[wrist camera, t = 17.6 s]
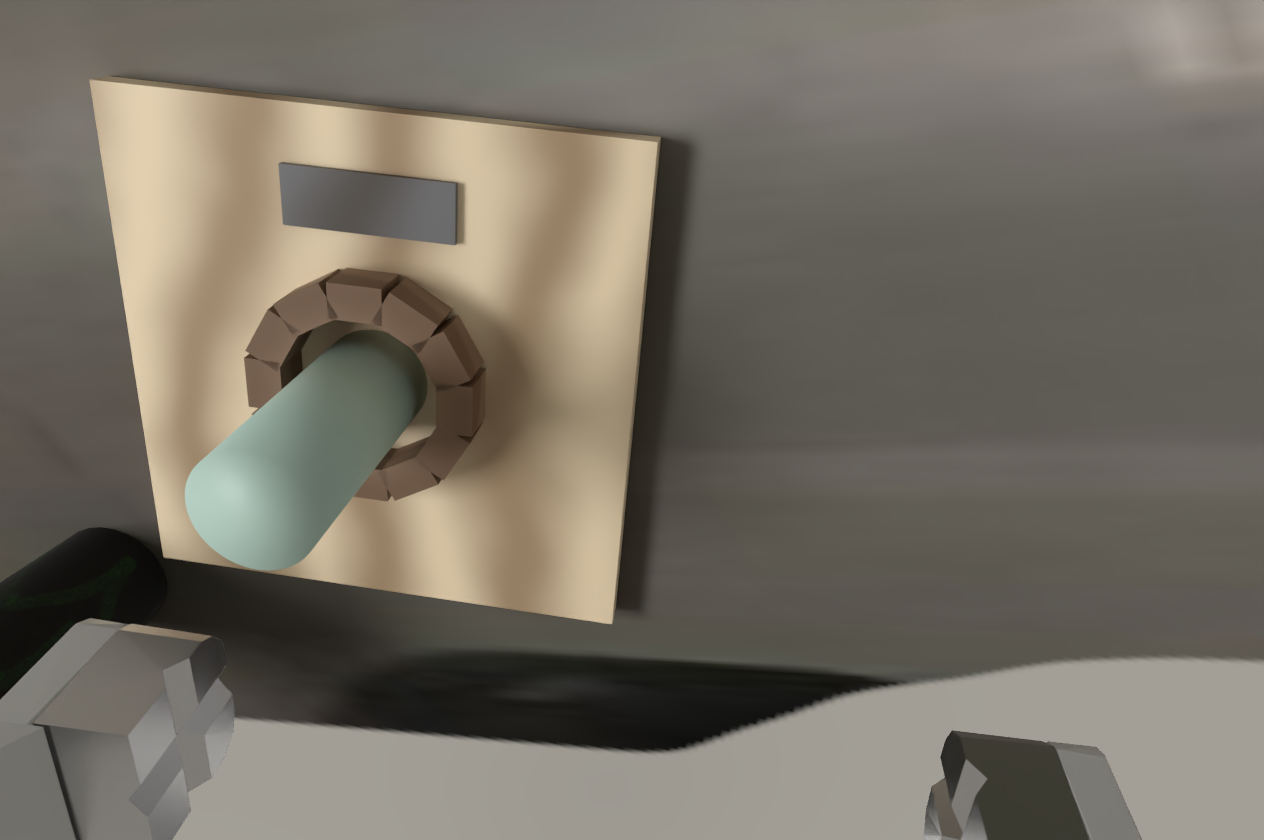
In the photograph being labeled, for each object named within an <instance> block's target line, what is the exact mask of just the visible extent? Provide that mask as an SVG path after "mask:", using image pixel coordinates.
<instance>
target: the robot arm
mask: <svg viewBox="0 0 1264 840" xmlns="http://www.w3.org/2000/svg"><path fill="white" fill-rule="evenodd" d="M226 665H227V661H226V656H225V652H224V647H223V642H222V641H221V640H219V639H217V638H215V637H213V636H209V635H202V634H196V633H189V632H183V631H176V630H170V629H163V628H157V627H150V626H144V625H137V624H130V625H129V624H123V623H117V622H111V621H105V620H99V619H93V618H89V619H86V620H84V621H81V622H79V623H76V624H75V625H74V626H73V627H72V628H71V629H70V630H69V631H68V632H67V633H66V634H65V635H64V636H63V637H62V638H61V639H60V640H59V641H58V642H57V643H56V644H55V645H54V646H53V647H52V648H51V649H50V650H49V651H48V652H47V653H46V654H45V655H44V656H43V657H42V658H41V659H40V660H39V661H38V662H37V663H36V664H35V665H34V666H33V667H32V668H31V669H30V670H29V671H28V672H27V673H26V674H25V675H24V676H23V677H22V678H21V679H20V680H19V681H18V682H17V683H16V684H15V685H14V686H13V687H12V688H11V689H10V690H9V691H8V692H7V693H6V694H5V695H4V696H3V697H2V698H1V699H0V840H172V839H173V838H174V836H175V835H176V833H177V831H178V830H179V828H180V827H181V825H182V823H183V822H184V821H185V819H186V818H187V816H188V814H189V813H190V811H191V807H190V802H189V796H188V792H189V791H191V790H193V789H194V788H196V787H198V786H199V785H201V784H202V783H204V782H206V781H207V780H209V779H211V778H212V777H213V775H214V773H215V772H216V770H217V769H218V767H219V765H220V764H221V762H222V760H223V759H224V757H225V754H226V751H227V748H228V745H229V742H230V739H231V736H232V733H233V727H234V714H235V709H234V703H233V696H232V693H231V692H230V691H229V690H228V689H227V688H226V687H225V686H224V685H223V683H222V682H221V681H220V680H219V679H218V676H219V675H220V673H221V672H222V671H223V669H224V668H225V666H226ZM941 761H942V766H943V770H944V774H945V778H944V779H942V780H941V781H939V782H938V783H936V784H935V785H934V786H932V788H931V792H930V796H929V800H928V804H927V808H926V817H925V830H924V840H1142V839H1141V836H1140V834H1139V832H1138V830H1137V827H1136V825H1135V823H1134V821H1133V818H1132V816H1131V814H1130V811H1129V809H1128V807H1127V805H1126V803H1125V800H1124V798H1123V796H1122V793H1121V791H1120V789H1119V787H1118V784H1117V782H1116V780H1115V778H1114V776H1113V773H1112V771H1111V768H1110V766H1109V764H1108V762H1107V759H1106V757H1105V755H1104V754H1103V753H1102V752H1101V751H1100V750H1099V749H1098V748H1097V747H1092V746H1083V745H1074V744H1064V743H1056V742H1047V743H1045V742H1042V741H1035V740H1027V739H1018V738H1010V737H1002V736H993V735H985V734H976V733H968V732H960V731H951V733H950V734H949V736H948V737H947V739H946V741H945V744H944V747H943V750H942V754H941Z"/></svg>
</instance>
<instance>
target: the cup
mask: <svg viewBox="0 0 1264 840" xmlns="http://www.w3.org/2000/svg"><path fill="white" fill-rule="evenodd" d="M165 596H166V579H165V576H164V572H163V570H162V568H161V566H160V565H159V563H158V561H157V560H156V558H155V557H154V556H153V555H152V554H151V552H150V551H149V550H148V549H146V548H145V547H144V546H143V545H142V544H141V543H139V542H138V541H136V540H135V539H133V538H131V537H130V536H128V535H126V534H124V533H121V532H118V531H115V530H112V529H106V528H88V529H85V530H82V531H79V532H77V533H76V534H74V535H73V536H71V537H70V538H68V539H67V540H65V541H64V542H62V543H60V544H59V545H57V546H56V547H54V548H53V549H51V550H50V551H48V552H47V553H45V554H44V555H42V556H41V557H39V558H37V559H36V560H34V561H33V562H31V563H30V564H28V565H27V566H25V567H24V568H22V569H21V570H19V571H17V572H16V573H14V574H13V575H11V576H10V577H8V578H7V579H5V580H4V581H2V582H1V583H0V699H1V698H2V697H3V696H4V695H5V694H6V693H7V692H8V691H9V690H10V689H11V688H12V687H13V686H14V685H15V684H16V683H17V682H18V681H19V680H20V679H21V678H22V677H23V676H24V675H25V674H26V673H27V672H28V671H29V670H30V669H31V668H32V667H33V666H34V665H35V664H36V663H37V662H38V661H39V660H40V659H41V658H42V657H43V656H44V655H45V654H46V653H47V652H48V651H49V650H50V649H51V648H52V647H53V646H54V645H55V644H56V643H57V642H58V641H59V640H60V639H61V638H62V637H63V636H64V635H65V634H66V633H67V632H68V631H69V630H70V629H71V628H72V627H73V626H74V625H75V624H76V623H79V622H81V621H84V620H86V619H89V618H93V619H99V620H105V621H111V622H117V623H123V624H129V625H130V624H137V625H144V626H146V625H147V624H148V622H149V621H150V620H151V618H152V617H153V616H154V614H155V613H156V612H157V610H158V609H159V608H160V606H161V605H162V604H163V602H164V599H165Z"/></svg>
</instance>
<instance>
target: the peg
mask: <svg viewBox="0 0 1264 840" xmlns="http://www.w3.org/2000/svg"><path fill="white" fill-rule="evenodd" d="M426 396H427V377H426V374H425V370H424V368H423V365H422V363H421V362H420V360H419V358H418V357H417V355H416V354H415V353H414V352H413V350H412V349H411V348H410V347H408V346H407V345H405V344H404V343H402V342H401V341H399V340H398V339H396V338H395V337H393V336H392V335H390V334H388V333H385V332H382V331H377V330H358V331H354V332H351V333H348V334H346V335H344V336H343V337H341V338H340V339H339V340H338V341H336V342H335V343H334V344H333V345H332V346H331V347H330V348H328V349H327V350H326V351H325V352H324V353H323V354H322V355H320V356H319V357H318V358H317V359H316V360H315V361H314V362H313V363H311V364H310V365H309V366H308V367H307V368H306V369H305V370H303V371H302V372H301V373H300V374H299V375H298V376H297V377H295V378H294V379H293V380H292V381H291V382H290V383H289V384H288V385H286V386H285V387H284V388H283V389H282V390H281V391H280V392H278V393H277V394H276V395H275V396H274V397H273V398H272V399H270V400H269V401H268V402H267V403H266V404H265V405H264V406H263V407H261V408H260V409H259V410H258V411H257V412H256V413H255V414H253V415H252V416H251V417H250V418H249V419H248V420H247V421H245V422H244V423H243V424H242V425H241V426H240V427H239V428H238V429H236V430H235V431H234V432H233V433H232V434H231V435H230V436H228V437H227V438H226V439H225V440H224V441H223V442H222V443H220V444H219V445H218V446H217V447H216V448H215V449H214V450H213V451H211V452H210V453H209V454H208V455H207V456H206V457H205V458H203V459H202V460H201V461H200V462H199V463H198V464H197V465H196V466H195V467H194V468H193V470H192V471H191V473H190V475H189V477H188V479H187V482H186V487H185V504H186V509H187V513H188V515H189V518H190V520H191V522H192V524H193V526H194V528H195V529H196V531H197V532H198V534H199V535H200V536H201V538H202V539H203V540H204V541H205V542H206V543H207V544H208V545H209V546H210V547H211V548H212V549H213V550H215V551H216V552H217V553H219V554H220V555H221V556H223V557H225V558H226V559H228V560H230V561H232V562H234V563H236V564H239V565H241V566H244V567H247V568H251V569H256V570H267V571H271V570H280V569H285V568H288V567H291V566H293V565H295V564H297V563H299V562H300V561H302V560H303V559H304V558H305V557H306V556H307V555H308V554H309V553H310V552H311V551H312V549H313V548H314V547H315V545H316V544H317V543H318V542H319V540H320V539H321V538H322V536H323V535H324V534H325V533H326V531H327V530H328V529H329V527H330V526H331V525H332V524H333V522H334V521H335V520H336V518H337V517H338V516H339V514H340V513H341V512H342V511H343V509H344V508H345V507H346V505H347V504H348V503H349V502H350V500H351V499H352V498H353V496H354V495H355V494H356V493H357V491H358V490H359V489H360V487H361V486H362V485H363V483H364V482H365V481H366V480H367V478H368V477H369V476H370V474H371V473H372V472H373V471H374V469H375V468H376V467H377V465H378V464H379V463H380V462H381V460H382V459H383V458H384V456H385V455H386V454H387V452H388V451H389V450H390V449H391V447H392V446H393V445H394V443H395V442H396V441H397V440H398V438H399V437H400V436H401V434H402V433H403V432H404V431H405V429H406V428H407V427H408V425H409V424H410V423H411V421H412V420H413V419H414V418H415V416H416V415H417V414H418V412H419V411H420V410H421V408H422V406H423V404H424V402H425V399H426Z"/></svg>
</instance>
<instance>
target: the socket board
mask: <svg viewBox="0 0 1264 840" xmlns="http://www.w3.org/2000/svg"><path fill="white" fill-rule="evenodd" d="M90 86H91V93H92V99H93V106H94V112H95V119H96V125H97V132H98V138H99V144H100V151H101V157H102V164H103V170H104V177H105V183H106V190H107V196H108V203H109V209H110V216H111V222H112V228H113V235H114V241H115V248H116V254H117V261H118V267H119V274H120V280H121V287H122V293H123V300H124V306H125V312H126V319H127V325H128V332H129V338H130V345H131V351H132V358H133V364H134V371H135V377H136V384H137V390H138V396H139V403H140V409H141V416H142V422H143V429H144V435H145V442H146V448H147V455H148V461H149V468H150V474H151V480H152V487H153V493H154V500H155V506H156V513H157V519H158V526H159V532H160V539H161V545H162V552H163V557H165V558H172V559H179V560H186V561H192V562H199V563H206V564H212V565H219V566H226V567H232V568H239V569H246V570H252V571H259V572H266V573H273V574H279V575H286V576H293V577H299V578H306V579H313V580H319V581H326V582H333V583H339V584H346V585H353V586H360V587H366V588H373V589H380V590H386V591H393V592H400V593H406V594H413V595H420V596H426V597H433V598H440V599H447V600H453V601H460V602H467V603H473V604H480V605H487V606H493V607H500V608H507V609H513V610H520V611H527V612H534V613H540V614H547V615H554V616H560V617H567V618H574V619H580V620H587V621H594V622H600V623H607V624H612V622H613V618H614V614H615V610H616V600H617V590H618V580H619V569H620V559H621V548H622V538H623V527H624V517H625V507H626V496H627V486H628V475H629V465H630V455H631V444H632V434H633V423H634V413H635V403H636V392H637V382H638V371H639V361H640V350H641V340H642V330H643V319H644V309H645V298H646V288H647V278H648V267H649V257H650V246H651V236H652V225H653V215H654V205H655V194H656V184H657V173H658V163H659V153H660V142H661V137H657V136H648V135H639V134H630V133H621V132H612V131H603V130H593V129H584V128H575V127H566V126H557V125H548V124H539V123H530V122H521V121H511V120H502V119H493V118H484V117H475V116H466V115H457V114H448V113H439V112H429V111H420V110H411V109H402V108H393V107H384V106H375V105H366V104H357V103H347V102H338V101H329V100H320V99H311V98H302V97H293V96H284V95H275V94H265V93H256V92H247V91H238V90H229V89H220V88H211V87H202V86H193V85H184V84H174V83H165V82H156V81H147V80H138V79H129V78H120V77H111V76H107V77H102V78H96V79H90ZM358 330H377V331H382V332H385V333H388V334H390V335H392V336H393V337H395V338H396V339H398V340H399V341H401V342H402V343H404V344H405V345H407V346H408V347H410V348H411V349H412V350H413V352H414V353H415V354H416V355H417V357H418V358H419V360H420V362H421V363H422V365H423V368H424V370H425V374H426V377H427V396H426V399H425V402H424V404H423V406H422V408H421V410H420V411H419V412H418V414H417V415H416V416H415V418H414V419H413V420H412V421H411V423H410V424H409V425H408V427H407V428H406V429H405V431H404V432H403V433H402V434H401V436H400V437H399V438H398V440H397V441H396V442H395V443H394V445H393V446H392V447H391V449H390V450H389V451H388V452H387V454H386V455H385V456H384V458H383V459H382V460H381V462H380V463H379V464H378V465H377V467H376V468H375V469H374V471H373V472H372V473H371V474H370V476H369V477H368V478H367V480H366V481H365V482H364V483H363V485H362V486H361V487H360V489H359V490H358V491H357V493H356V494H355V495H354V496H353V498H352V499H351V500H350V502H349V503H348V504H347V505H346V507H345V508H344V509H343V511H342V512H341V513H340V514H339V516H338V517H337V518H336V520H335V521H334V522H333V524H332V525H331V526H330V527H329V529H328V530H327V531H326V533H325V534H324V535H323V536H322V538H321V539H320V540H319V542H318V543H317V544H316V545H315V547H314V548H313V549H312V551H311V552H310V553H309V554H308V555H307V556H306V557H305V558H304V559H303V560H302V561H300V562H299V563H297V564H295V565H293V566H291V567H288V568H285V569H280V570H271V571H267V570H256V569H251V568H247V567H244V566H241V565H239V564H236V563H234V562H232V561H230V560H228V559H226V558H225V557H223V556H221V555H220V554H219V553H217V552H216V551H215V550H213V549H212V548H211V547H210V546H209V545H208V544H207V543H206V542H205V541H204V540H203V539H202V538H201V536H200V535H199V534H198V532H197V531H196V529H195V528H194V526H193V524H192V522H191V520H190V518H189V515H188V513H187V509H186V504H185V487H186V482H187V479H188V477H189V475H190V473H191V471H192V470H193V468H194V467H195V466H196V465H197V464H198V463H199V462H200V461H201V460H202V459H203V458H205V457H206V456H207V455H208V454H209V453H210V452H211V451H213V450H214V449H215V448H216V447H217V446H218V445H219V444H220V443H222V442H223V441H224V440H225V439H226V438H227V437H228V436H230V435H231V434H232V433H233V432H234V431H235V430H236V429H238V428H239V427H240V426H241V425H242V424H243V423H244V422H245V421H247V420H248V419H249V418H250V417H251V416H252V415H253V414H255V413H256V412H257V411H258V410H259V409H260V408H261V407H263V406H264V405H265V404H266V403H267V402H268V401H269V400H270V399H272V398H273V397H274V396H275V395H276V394H277V393H278V392H280V391H281V390H282V389H283V388H284V387H285V386H286V385H288V384H289V383H290V382H291V381H292V380H293V379H294V378H295V377H297V376H298V375H299V374H300V373H301V372H302V371H303V370H305V369H306V368H307V367H308V366H309V365H310V364H311V363H313V362H314V361H315V360H316V359H317V358H318V357H319V356H320V355H322V354H323V353H324V352H325V351H326V350H327V349H328V348H330V347H331V346H332V345H333V344H334V343H335V342H336V341H338V340H339V339H340V338H341V337H343V336H344V335H346V334H348V333H351V332H354V331H358Z"/></svg>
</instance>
